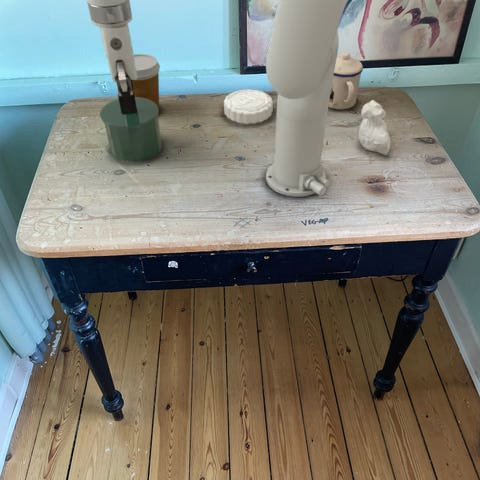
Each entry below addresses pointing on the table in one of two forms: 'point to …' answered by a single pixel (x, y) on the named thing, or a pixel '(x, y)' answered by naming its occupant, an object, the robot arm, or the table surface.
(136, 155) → the crock
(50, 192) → the table surface
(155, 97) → the disposable coffee cup
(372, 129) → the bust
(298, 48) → the robot arm
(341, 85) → the teacup with lid
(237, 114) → the mooncake
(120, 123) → the crock lid
